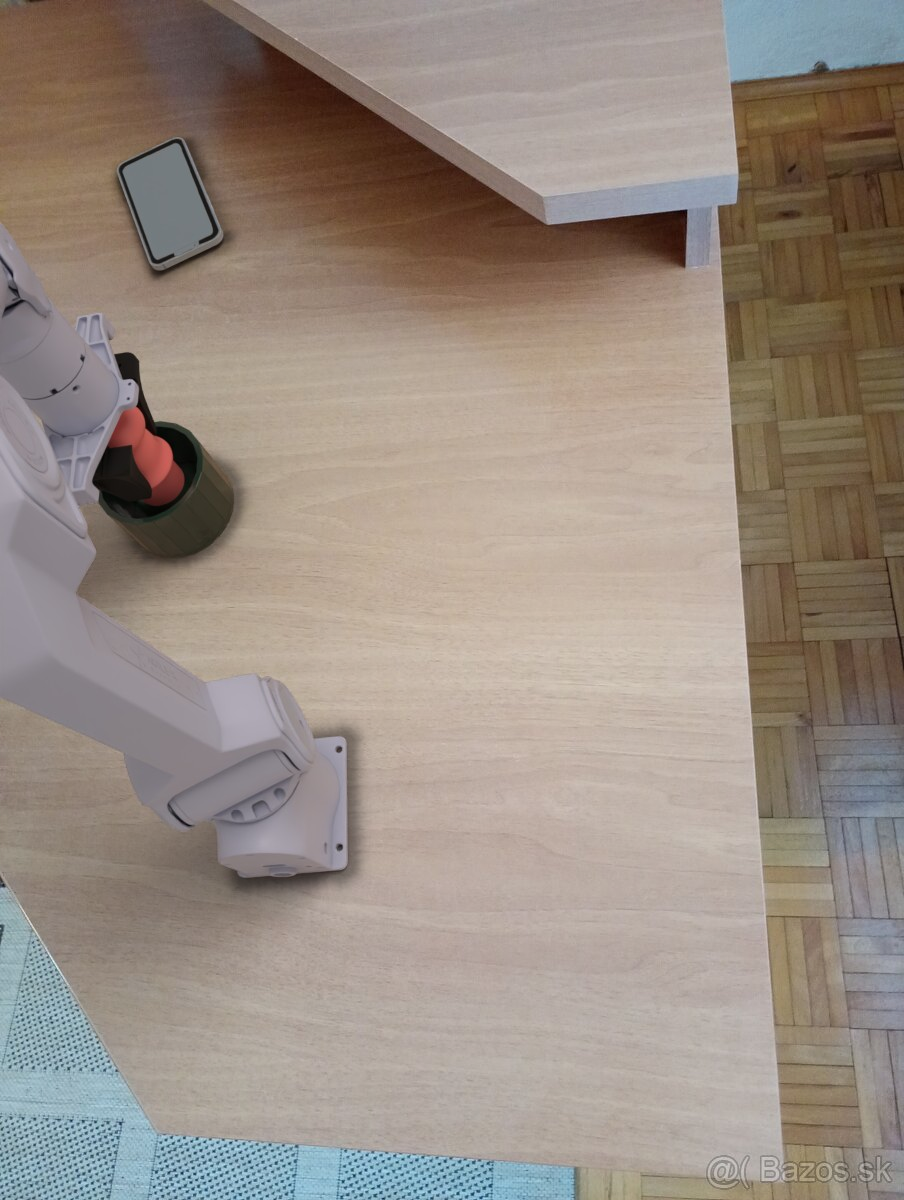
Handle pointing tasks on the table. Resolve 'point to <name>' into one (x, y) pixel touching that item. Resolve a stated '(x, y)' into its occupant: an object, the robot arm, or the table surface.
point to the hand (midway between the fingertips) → (142, 465)
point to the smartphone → (169, 204)
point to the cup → (179, 502)
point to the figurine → (149, 457)
